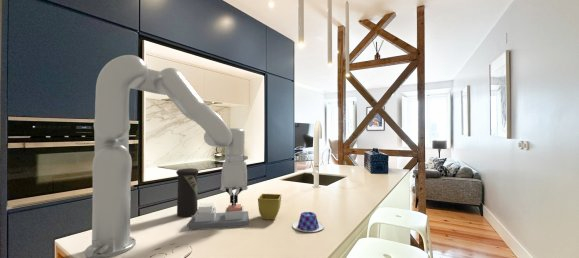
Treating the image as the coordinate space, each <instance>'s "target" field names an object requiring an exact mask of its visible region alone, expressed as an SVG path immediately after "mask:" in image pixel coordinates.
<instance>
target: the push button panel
mask: <svg viewBox="0 0 579 258" xmlns="http://www.w3.org/2000/svg"><path fill="white" fill-rule="evenodd" d="M244 210H245V209H244V205H241V211H231V212H228V206H226V207H225V212H217V207H213V213H198V210H197V212H196V213H195V214H194V215H193V216H191V219H190V220H189V222H188V224H187V231H197V230H210V229H226V228H238V227H239V228H240V227H250V218H249V211H248V210H247V211H246V210H245V211H244Z"/></svg>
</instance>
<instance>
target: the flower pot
mask: <svg viewBox="0 0 579 258" xmlns="http://www.w3.org/2000/svg"><path fill="white" fill-rule="evenodd" d="M281 202H282V194H278V193H261V194H260V195H259V197H257V204H258V212H259V215H260V218H261V219H263V220H276V217H277V216H278V213H279V211H280V208H281Z"/></svg>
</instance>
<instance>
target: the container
mask: <svg viewBox="0 0 579 258" xmlns="http://www.w3.org/2000/svg"><path fill="white" fill-rule="evenodd" d="M175 172H176V175H177V198H176V199H177V201H176V203H177V205H176V216H177V217H180V218H188V217H193V215H194V214H195V213H196V212H197V210H198V207H199V205H198V173H199V170H198V169H197V168H193V167H191V168H190V167H189V168H182V169H180V168H179V169H178V170H177V171H175Z"/></svg>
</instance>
